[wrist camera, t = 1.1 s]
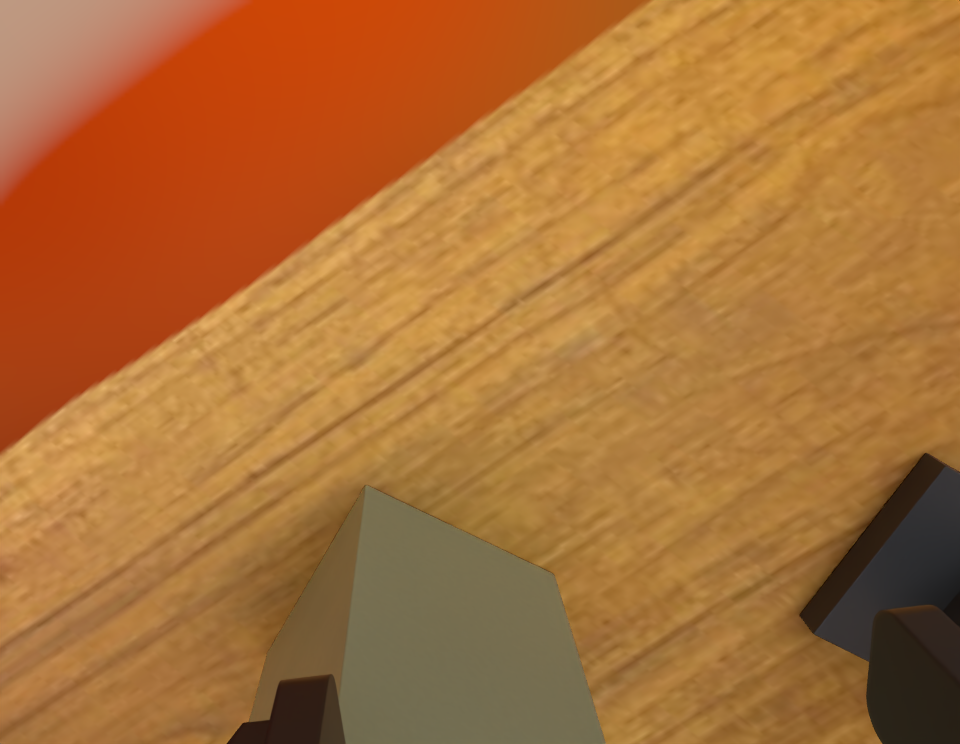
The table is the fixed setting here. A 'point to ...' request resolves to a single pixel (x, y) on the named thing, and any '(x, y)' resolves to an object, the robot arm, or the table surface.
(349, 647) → the green block
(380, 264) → the table surface
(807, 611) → the stand
